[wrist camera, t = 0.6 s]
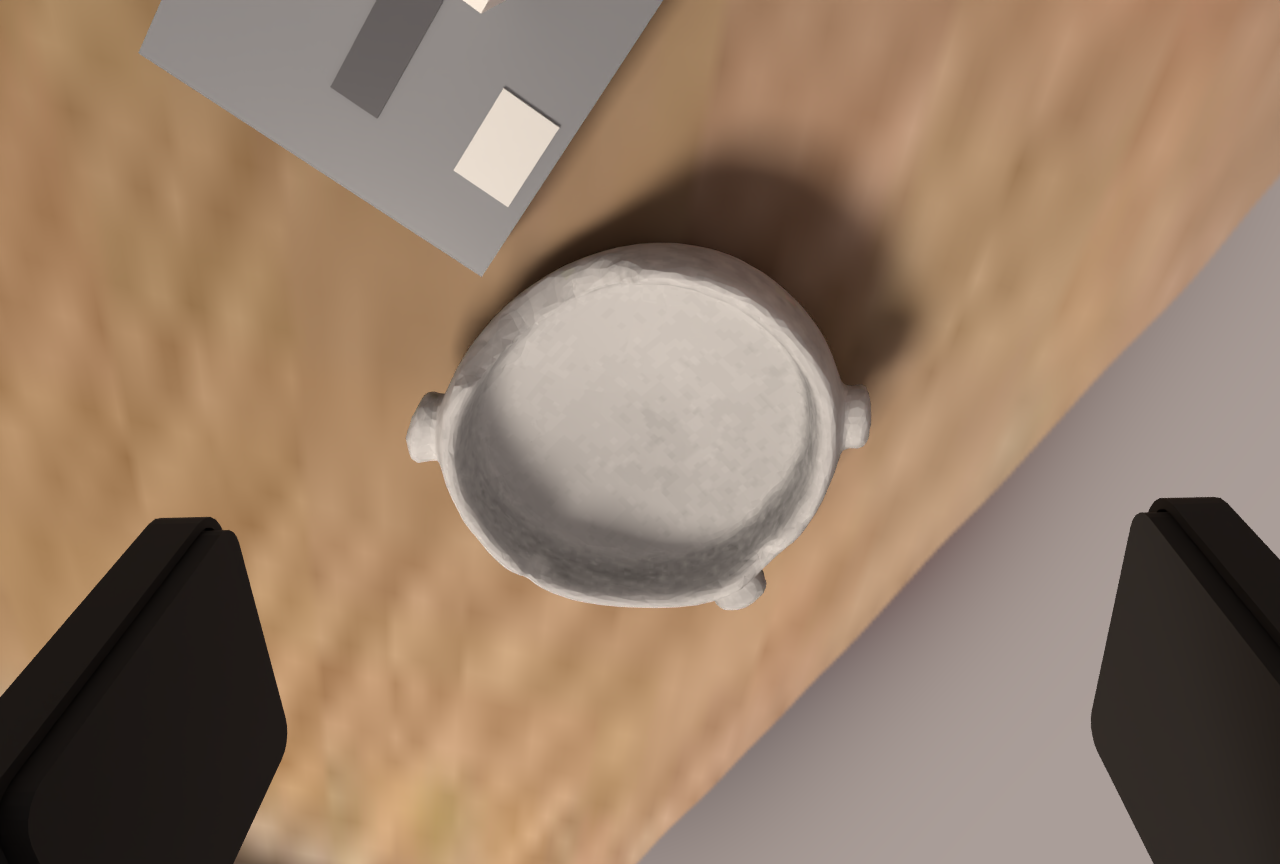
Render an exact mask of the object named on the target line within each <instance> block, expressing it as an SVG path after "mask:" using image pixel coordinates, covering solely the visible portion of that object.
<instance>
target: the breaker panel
mask: <svg viewBox="0 0 1280 864" xmlns="http://www.w3.org/2000/svg"><path fill="white" fill-rule="evenodd" d="M662 1H663V0H505V1H504V2H502V3H500V4H498V5H496V6H494V7H492V8H491V9H489V10H487V11H485V12H483V13H480V12H478V11H477V10H475V9H474V8H473V7H471V6H470V5H468V4H467V3H466V2H464V1H463V0H161V3H160V5H159V7H158V9H157V12H156V14H155V16H154V19H153V21H152V23H151V25H150V28H149V30H148V32H147V35H146V37H145V39H144V41H143V44H142V46H141V48H140V51H139V54H140V55H142V56H144V57H145V58H147V59H148V60H150V61H151V62H153V63H154V64H156V65H157V66H159V67H160V68H162V69H164V70H165V71H167V72H168V73H170V74H171V75H173V76H174V77H176V78H177V79H179V80H180V81H182V82H183V83H185V84H187V85H188V86H190V87H191V88H193V89H194V90H196V91H197V92H199V93H200V94H202V95H203V96H205V97H206V98H208V99H210V100H211V101H213V102H214V103H216V104H217V105H219V106H220V107H222V108H223V109H225V110H226V111H228V112H229V113H231V114H233V115H234V116H236V117H237V118H239V119H240V120H242V121H243V122H245V123H246V124H248V125H249V126H251V127H253V128H254V129H256V130H257V131H259V132H260V133H262V134H263V135H265V136H266V137H268V138H269V139H271V140H272V141H274V142H276V143H277V144H279V145H280V146H282V147H283V148H285V149H286V150H288V151H289V152H291V153H292V154H294V155H295V156H297V157H299V158H300V159H302V160H303V161H305V162H306V163H308V164H309V165H311V166H312V167H314V168H315V169H317V170H318V171H320V172H322V173H323V174H325V175H326V176H328V177H329V178H331V179H332V180H334V181H335V182H337V183H338V184H340V185H342V186H343V187H345V188H346V189H348V190H349V191H351V192H352V193H354V194H355V195H357V196H358V197H360V198H361V199H363V200H365V201H366V202H368V203H369V204H371V205H372V206H374V207H375V208H377V209H378V210H380V211H381V212H383V213H384V214H386V215H388V216H389V217H391V218H392V219H394V220H395V221H397V222H398V223H400V224H401V225H403V226H404V227H406V228H408V229H409V230H411V231H412V232H414V233H415V234H417V235H418V236H420V237H421V238H423V239H424V240H426V241H427V242H429V243H431V244H432V245H434V246H435V247H437V248H438V249H440V250H441V251H443V252H444V253H446V254H447V255H449V256H450V257H452V258H454V259H455V260H457V261H458V262H460V263H461V264H463V265H464V266H466V267H467V268H469V269H470V270H472V271H473V272H475V273H477V274H478V275H480V276H481V277H482V276H483V274H484V272H485V271H486V269H487V268H488V266H489V265H490V263H491V262H492V260H493V259H494V257H495V256H496V254H497V253H498V251H499V250H500V248H501V247H502V245H503V244H504V242H505V240H506V239H507V237H508V236H509V234H510V233H511V231H512V230H513V228H514V227H515V225H516V224H517V222H518V221H519V219H520V218H521V216H522V215H523V213H524V212H525V210H526V208H527V207H528V205H529V204H530V202H531V201H532V199H533V198H534V196H535V195H536V193H537V192H538V190H539V189H540V187H541V186H542V184H543V183H544V181H545V180H546V178H547V176H548V175H549V173H550V172H551V170H552V169H553V167H554V166H555V164H556V163H557V161H558V160H559V158H560V157H561V155H562V154H563V152H564V151H565V149H566V147H567V146H568V144H569V143H570V141H571V140H572V138H573V137H574V135H575V134H576V132H577V131H578V129H579V128H580V126H581V125H582V123H583V122H584V120H585V119H586V117H587V115H588V114H589V112H590V111H591V109H592V108H593V106H594V105H595V103H596V102H597V100H598V99H599V97H600V96H601V94H602V93H603V91H604V90H605V88H606V87H607V85H608V83H609V82H610V80H611V79H612V77H613V76H614V74H615V73H616V71H617V70H618V68H619V67H620V65H621V64H622V62H623V61H624V59H625V58H626V56H627V55H628V53H629V51H630V50H631V48H632V47H633V45H634V44H635V42H636V41H637V39H638V38H639V36H640V35H641V33H642V32H643V30H644V29H645V27H646V26H647V24H648V23H649V21H650V19H651V18H652V16H653V15H654V13H655V12H656V10H657V9H658V7H659V6H660V4H661V3H662Z"/></svg>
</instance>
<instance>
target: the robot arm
mask: <svg viewBox="0 0 1280 864" xmlns="http://www.w3.org/2000/svg"><path fill="white" fill-rule="evenodd" d="M1091 729H1092V735H1093V740H1094V744H1095V746H1096V749H1097V751H1098V754H1099V756H1100V757H1101V759H1102V761H1103V763H1104V765H1105V767H1106V769H1107V771H1108V773H1109V775H1110V777H1111V779H1112V781H1113V783H1114V785H1115V787H1116V789H1117V791H1118V793H1119V795H1120V797H1121V799H1122V801H1123V803H1124V805H1125V807H1126V809H1127V811H1128V813H1129V815H1130V817H1131V819H1132V821H1133V823H1134V825H1135V827H1136V829H1137V831H1138V833H1139V835H1140V837H1141V839H1142V841H1143V843H1144V845H1145V847H1146V849H1147V851H1148V853H1149V855H1150V857H1151V859H1152V861H1153V863H1154V864H1280V559H1279V558H1278V557H1277V556H1276V555H1275V554H1274V553H1273V552H1272V551H1271V550H1270V549H1269V548H1268V546H1267V545H1265V543H1264V542H1263V541H1262V540H1261V539H1260V538H1259V537H1258V536H1257V535H1256V534H1255V532H1254V531H1253V530H1252V529H1251V528H1250V527H1249V526H1248V525H1247V524H1246V523H1245V522H1244V521H1243V520H1242V519H1241V517H1240V516H1239V515H1238V514H1237V513H1236V512H1235V511H1234V510H1233V509H1232V508H1231V507H1230V506H1229V504H1228V503H1226V502H1225V501H1224V500H1222V499H1221V498H1216V497H1196V498H1159V499H1158V500H1156V501H1154V503H1153V504H1152V506H1151V507H1150V509H1149V512H1147V513H1139V514H1137V515H1136V516H1135V517H1134V519H1133V521H1132V524H1131V527H1130V533H1129V537H1128V541H1127V546H1126V551H1125V556H1124V561H1123V565H1122V570H1121V575H1120V580H1119V584H1118V589H1117V594H1116V598H1115V604H1114V608H1113V613H1112V618H1111V623H1110V627H1109V632H1108V636H1107V641H1106V646H1105V651H1104V656H1103V661H1102V665H1101V670H1100V675H1099V679H1098V684H1097V689H1096V694H1095V699H1094V703H1093V708H1092V714H1091ZM286 742H287V723H286V718H285V714H284V710H283V707H282V703H281V699H280V695H279V692H278V688H277V684H276V680H275V676H274V673H273V669H272V665H271V661H270V658H269V654H268V650H267V646H266V643H265V639H264V635H263V631H262V628H261V624H260V620H259V616H258V612H257V609H256V605H255V601H254V597H253V594H252V590H251V586H250V582H249V579H248V575H247V571H246V567H245V564H244V560H243V556H242V552H241V548H240V545H239V542H238V539H237V537H236V535H235V534H234V533H233V532H232V531H230V530H222V528H221V526H220V524H219V523H218V522H217V521H216V520H215V519H213V518H211V517H188V518H159V519H155V520H153V521H152V522H151V523H150V524H149V525H148V526H147V527H146V528H145V529H144V530H143V532H142V533H141V534H140V535H139V536H138V537H137V539H136V540H135V541H134V542H133V543H132V544H131V546H130V547H129V548H128V549H127V550H126V551H125V553H124V554H123V555H122V556H121V557H120V558H119V559H118V561H117V562H116V563H115V564H114V565H113V566H112V568H111V569H110V570H109V571H108V572H107V573H106V575H105V576H104V577H103V578H102V579H101V580H100V582H99V583H98V584H97V585H96V586H95V587H94V589H93V590H92V591H91V592H90V593H89V594H88V596H87V597H86V598H85V599H84V600H83V601H82V603H81V604H80V605H79V606H78V607H77V608H76V610H75V611H74V612H73V613H72V614H71V615H70V617H69V618H68V619H67V620H66V621H65V622H64V624H63V625H62V626H61V627H60V628H59V629H58V631H57V632H56V633H55V634H54V635H53V636H52V638H51V639H50V640H49V641H48V642H47V643H46V645H45V646H44V647H43V648H42V649H41V650H40V652H39V653H38V654H37V655H36V656H35V657H34V659H33V660H32V661H31V662H30V663H29V664H28V666H27V667H26V668H25V669H24V670H23V671H22V673H21V674H20V675H19V676H18V677H17V678H16V680H15V681H14V682H13V683H12V684H11V685H10V687H9V688H8V689H7V690H6V691H5V692H4V694H3V695H2V696H1V697H0V864H233V863H234V861H235V859H236V857H237V854H238V852H239V850H240V848H241V846H242V844H243V841H244V839H245V837H246V835H247V833H248V831H249V829H250V826H251V824H252V822H253V820H254V818H255V816H256V813H257V811H258V809H259V807H260V805H261V803H262V801H263V798H264V796H265V794H266V792H267V790H268V788H269V785H270V783H271V781H272V779H273V777H274V775H275V773H276V770H277V768H278V766H279V764H280V762H281V760H282V757H283V754H284V752H285V747H286Z"/></svg>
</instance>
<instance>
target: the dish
mask: <svg viewBox="0 0 1280 864" xmlns="http://www.w3.org/2000/svg"><path fill="white" fill-rule="evenodd" d="M870 426H871V403H870V398H869V393H868V391H867V388H866V386H864V385H862V384H861V385H851V386H850V385H845V384H844V383H843V382H842V381H841V379H840V376H839V373H838V370H837V367H836V365H835V362H834V359H833V356H832V353H831V351H830V349H829V347H828V344H827V342H826V340H825V338H824V337H823V335H822V333H821V332H820V330H819V328H818V327H817V325H816V324H815V323H814V321H813V320H812V319H811V317H810V316H809V315H808V314H807V312H806V311H805V310H804V308H803V307H802V306H801V305H800V304H799V303H798V302H797V301H796V300H795V299H794V298H793V297H792V296H791V295H790V294H789V293H788V292H787V291H786V290H785V289H784V288H782V287H781V286H780V285H779V284H778V283H776V282H775V281H774V280H773V279H771V278H770V277H769V276H767V275H766V274H764V273H763V272H762V271H760V270H758V269H756V268H754V267H753V266H751V265H749V264H747V263H746V262H744V261H742V260H740V259H738V258H736V257H733V256H731V255H729V254H726V253H723V252H720V251H717V250H713V249H710V248H706V247H700V246H694V245H688V244H681V243H641V244H634V245H629V246H623V247H617V248H613V249H609V250H605V251H602V252H599V253H596V254H593V255H590V256H587V257H584V258H581V259H579V260H576V261H574V262H572V263H569V264H567V265H565V266H563V267H561V268H559V269H557V270H555V271H554V272H552V273H550V274H548V275H546V276H545V277H543V278H542V279H540V280H539V281H537V282H536V283H534V284H533V285H531V286H530V287H528V288H527V289H525V290H524V291H523V292H521V293H520V294H519V295H518V296H516V297H515V298H514V299H513V300H512V301H511V302H509V303H508V304H507V305H506V306H505V307H504V308H503V309H502V310H501V311H500V312H499V313H498V314H497V315H496V316H495V317H494V318H493V319H492V320H491V321H490V323H489V324H488V325H487V326H486V327H485V329H484V330H483V331H482V332H481V333H480V335H479V336H478V337H477V338H476V340H475V341H474V342H473V344H472V345H471V346H470V348H469V349H468V351H467V352H466V354H465V356H464V357H463V359H462V361H461V363H460V364H459V366H458V368H457V369H456V372H455V374H454V376H453V378H452V380H451V382H450V384H449V387H448V389H447V391H446V393H445V394H440V393H437V392H429V393H427V394H426V395H424V397H423V398H422V400H421V402H420V403H419V405H418V407H417V409H416V411H415V413H414V415H413V416H412V419H411V423H410V426H409V429H408V431H407V436H406V442H407V446H408V450H409V454H410V456H411V458H412V459H413V460H414V461H416V462H418V463H420V462H426V461H438V462H439V464H440V466H441V469H442V473H443V476H444V480H445V483H446V486H447V489H448V491H449V493H450V495H451V498H452V500H453V502H454V504H455V506H456V508H457V510H458V511H459V513H460V515H461V517H462V519H463V521H464V522H465V524H466V525H467V526H468V528H469V529H470V531H471V532H472V533H473V534H474V535H475V536H476V537H477V539H478V540H479V541H480V542H481V544H482V545H483V546H484V548H485V549H486V550H487V551H488V552H489V553H490V554H491V555H492V556H493V557H494V558H495V559H496V560H497V561H498V562H499V563H500V564H501V565H502V566H504V567H505V568H506V569H508V570H510V571H511V572H514V573H516V574H518V575H521V576H525V577H526V578H528V579H530V580H531V581H532V582H533V583H535V584H536V585H538V586H540V587H541V588H543V589H545V590H547V591H549V592H551V593H554V594H556V595H559V596H562V597H565V598H568V599H571V600H575V601H580V602H586V603H592V604H598V605H607V606H617V607H640V608H668V607H684V606H693V605H699V604H704V603H708V602H712V601H715V603H716V604H717V605H718V606H719V607H720V608H722V609H724V610H739V609H742V608H745V607H747V606H749V605H750V604H752V603H753V602H754V601H756V600H757V599H758V598H759V597H760V596H761V595H762V594H763V593H764V590H765V588H766V580H765V577H764V573H763V570H762V569H763V568H764V567H765V566H766V565H767V564H768V563H769V562H770V561H771V560H773V559H774V558H775V557H776V556H777V555H778V554H779V553H780V552H782V551H783V550H784V549H785V548H786V547H788V546H789V545H790V544H791V543H793V542H794V541H795V540H796V539H797V538H798V537H799V536H800V535H801V533H802V532H803V531H804V529H805V528H806V527H807V525H808V524H809V522H810V521H811V519H812V518H813V516H814V515H815V513H816V512H817V510H818V508H819V506H820V504H821V502H822V501H823V498H824V496H825V494H826V492H827V489H828V487H829V485H830V482H831V480H832V477H833V475H834V473H835V469H836V466H837V463H838V460H839V457H840V454H841V453H842V451H843V450H845V449H848V448H860V447H863V446H864V445H865V443H866V442H867V440H868V437H869V429H870Z"/></svg>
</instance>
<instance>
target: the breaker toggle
mask: <svg viewBox="0 0 1280 864" xmlns="http://www.w3.org/2000/svg"><path fill="white" fill-rule="evenodd" d="M463 1H464V2H466V3H467V4H468V5H470V6H471V7H473V8H474V9H475V10H477V11H478V12H480V13H483V12H485V11H487V10H489V9H491V8H492V7H494V6H496V5H498V4H500V3H502V2H504V1H505V0H463Z"/></svg>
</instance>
